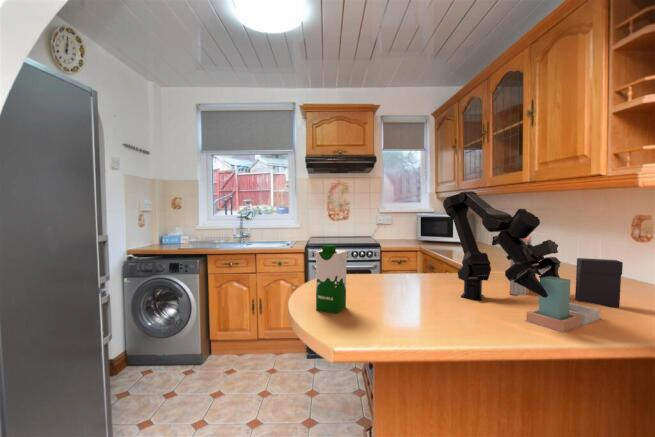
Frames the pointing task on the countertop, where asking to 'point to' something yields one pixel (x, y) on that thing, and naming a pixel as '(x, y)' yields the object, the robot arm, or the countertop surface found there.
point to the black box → (598, 281)
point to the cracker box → (514, 287)
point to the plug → (555, 298)
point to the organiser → (576, 319)
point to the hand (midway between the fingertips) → (555, 294)
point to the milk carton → (330, 279)
